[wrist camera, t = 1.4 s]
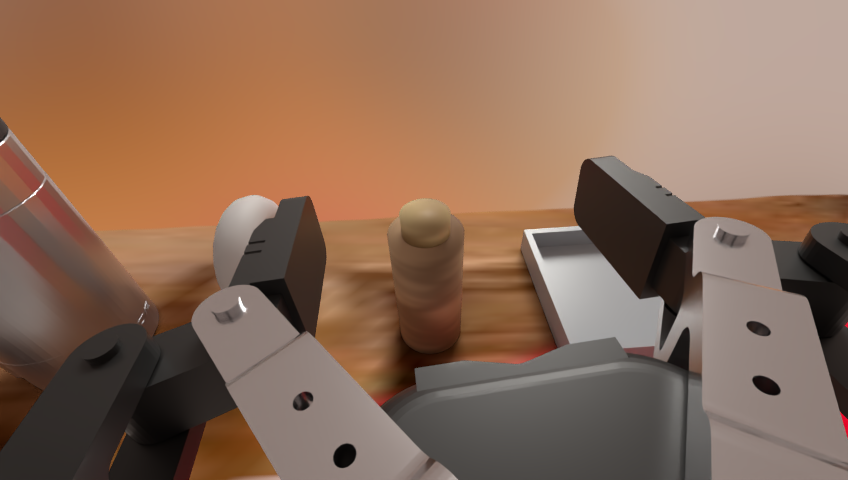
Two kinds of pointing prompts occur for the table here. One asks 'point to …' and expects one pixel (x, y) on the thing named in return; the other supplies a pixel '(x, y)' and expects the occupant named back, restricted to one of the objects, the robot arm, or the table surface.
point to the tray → (586, 292)
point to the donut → (238, 233)
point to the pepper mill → (427, 274)
